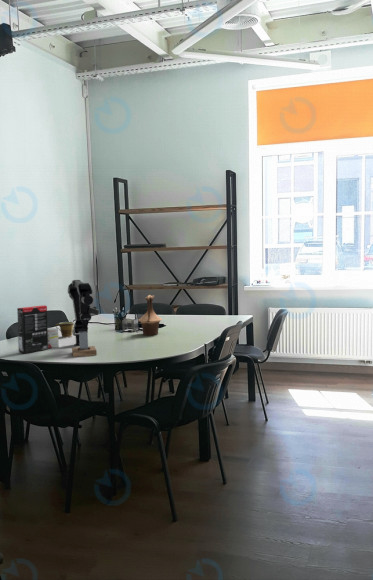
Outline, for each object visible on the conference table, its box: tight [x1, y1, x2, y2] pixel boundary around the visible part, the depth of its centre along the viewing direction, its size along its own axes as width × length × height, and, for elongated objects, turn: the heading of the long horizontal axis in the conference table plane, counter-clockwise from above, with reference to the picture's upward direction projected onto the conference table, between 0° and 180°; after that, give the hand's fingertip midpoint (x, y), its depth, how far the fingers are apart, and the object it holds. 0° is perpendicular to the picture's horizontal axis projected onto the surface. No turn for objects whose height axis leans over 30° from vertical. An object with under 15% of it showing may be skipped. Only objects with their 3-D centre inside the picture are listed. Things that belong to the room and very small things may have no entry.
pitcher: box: [137, 294, 163, 336], centre depth 352 cm, size 18×17×28 cm
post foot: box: [71, 345, 98, 358], centre depth 289 cm, size 13×13×3 cm
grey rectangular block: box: [79, 331, 89, 350], centre depth 289 cm, size 4×4×13 cm
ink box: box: [47, 327, 60, 349], centre depth 313 cm, size 9×5×12 cm, turn 107°
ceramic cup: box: [55, 321, 75, 338], centre depth 352 cm, size 13×10×10 cm
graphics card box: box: [16, 304, 49, 354], centre depth 301 cm, size 17×7×27 cm, turn 141°
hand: (85, 328), depth 305 cm, fingers open, 9 cm apart
